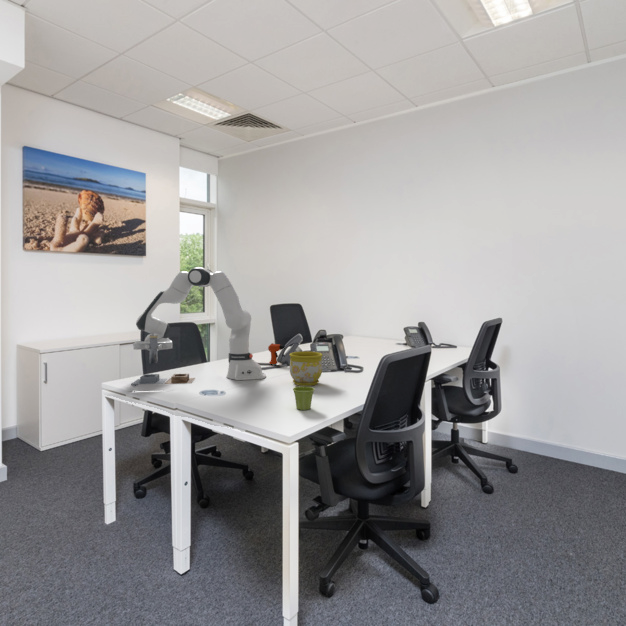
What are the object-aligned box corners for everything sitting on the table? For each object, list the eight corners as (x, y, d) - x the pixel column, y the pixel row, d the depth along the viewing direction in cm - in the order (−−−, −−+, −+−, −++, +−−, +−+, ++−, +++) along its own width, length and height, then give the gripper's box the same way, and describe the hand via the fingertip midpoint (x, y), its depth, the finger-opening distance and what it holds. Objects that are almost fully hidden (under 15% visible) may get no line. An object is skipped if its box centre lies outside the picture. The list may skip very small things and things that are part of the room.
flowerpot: (322, 380, 244) (322, 351, 243) (322, 387, 226) (322, 356, 225) (290, 379, 245) (290, 351, 244) (288, 387, 227) (288, 356, 226)
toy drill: (290, 365, 281) (287, 342, 281) (267, 366, 291) (265, 344, 291) (294, 364, 285) (292, 341, 285) (272, 365, 295) (270, 343, 295)
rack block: (167, 380, 240) (167, 373, 240) (162, 385, 229) (162, 377, 228) (137, 380, 238) (137, 373, 238) (131, 385, 227) (131, 378, 226)
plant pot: (290, 406, 191) (291, 386, 190) (311, 405, 193) (311, 385, 192) (294, 412, 182) (295, 391, 181) (316, 410, 184) (316, 390, 183)
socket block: (195, 379, 243) (195, 372, 243) (191, 385, 229) (191, 377, 229) (169, 379, 242) (169, 372, 241) (164, 385, 228) (164, 378, 227)
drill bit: (158, 361, 236) (158, 334, 235) (156, 363, 232) (156, 335, 231) (150, 361, 235) (150, 334, 234) (148, 363, 231) (148, 335, 230)
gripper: (133, 338, 241) (132, 341, 228) (171, 337, 248) (173, 340, 235) (133, 349, 241) (132, 353, 228) (171, 348, 249) (173, 352, 236)
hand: (153, 347), depth 232 cm, fingers closed on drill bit, 4 cm apart
